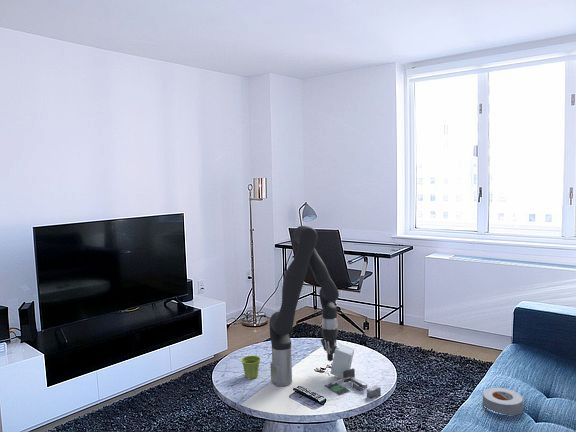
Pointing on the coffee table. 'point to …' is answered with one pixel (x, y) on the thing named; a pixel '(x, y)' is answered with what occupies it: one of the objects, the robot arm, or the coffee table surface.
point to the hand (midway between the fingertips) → (330, 360)
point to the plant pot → (251, 366)
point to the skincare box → (342, 360)
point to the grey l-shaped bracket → (351, 378)
